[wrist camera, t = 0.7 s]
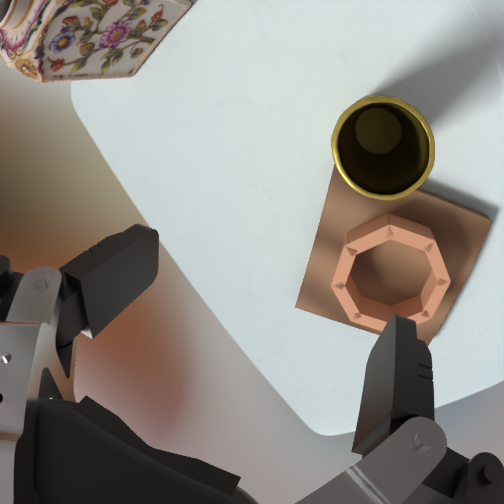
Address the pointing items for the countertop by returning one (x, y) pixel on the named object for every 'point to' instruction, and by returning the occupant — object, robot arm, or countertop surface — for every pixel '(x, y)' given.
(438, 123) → the countertop surface
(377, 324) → the holder ring
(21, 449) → the robot arm
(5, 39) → the decorative jar
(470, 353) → the countertop surface
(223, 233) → the countertop surface
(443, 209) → the board
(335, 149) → the vase
